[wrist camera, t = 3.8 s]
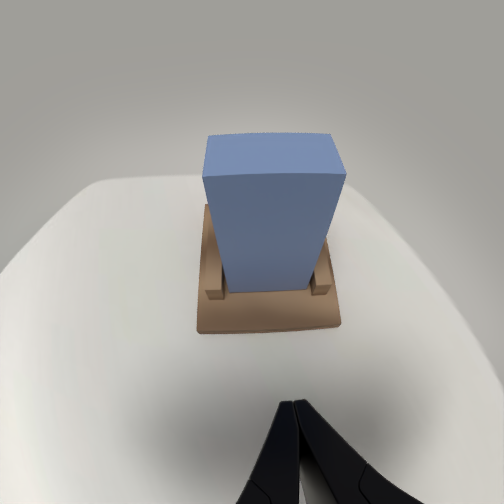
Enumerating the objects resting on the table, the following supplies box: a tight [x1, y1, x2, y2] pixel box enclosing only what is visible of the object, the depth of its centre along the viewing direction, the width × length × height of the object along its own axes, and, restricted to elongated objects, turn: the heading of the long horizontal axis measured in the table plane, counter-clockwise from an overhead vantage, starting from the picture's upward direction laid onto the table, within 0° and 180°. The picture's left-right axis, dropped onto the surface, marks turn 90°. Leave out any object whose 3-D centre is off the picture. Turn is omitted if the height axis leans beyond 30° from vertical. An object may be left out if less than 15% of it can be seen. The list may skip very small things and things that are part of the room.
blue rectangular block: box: [202, 133, 346, 293], centre depth 17 cm, size 3×6×12 cm, turn 92°
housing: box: [197, 204, 341, 334], centre depth 21 cm, size 12×11×5 cm
